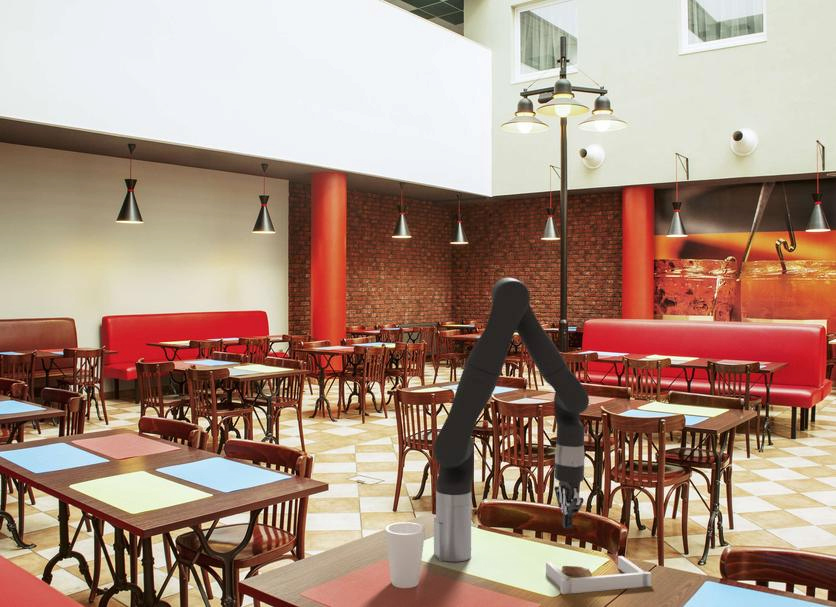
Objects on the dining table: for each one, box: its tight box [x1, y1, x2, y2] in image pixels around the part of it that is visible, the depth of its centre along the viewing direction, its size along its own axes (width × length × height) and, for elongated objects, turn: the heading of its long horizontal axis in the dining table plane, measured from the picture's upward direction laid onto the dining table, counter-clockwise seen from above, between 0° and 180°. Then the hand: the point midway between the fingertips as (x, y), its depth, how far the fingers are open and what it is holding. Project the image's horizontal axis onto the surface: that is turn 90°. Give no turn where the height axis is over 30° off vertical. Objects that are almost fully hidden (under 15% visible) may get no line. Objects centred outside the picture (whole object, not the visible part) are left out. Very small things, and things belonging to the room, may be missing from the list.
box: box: [545, 555, 652, 595], centre depth 178 cm, size 22×12×3 cm, turn 103°
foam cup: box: [384, 521, 426, 589], centre depth 176 cm, size 10×9×13 cm
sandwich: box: [561, 565, 593, 578], centre depth 178 cm, size 11×8×2 cm
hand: (567, 527), depth 193 cm, fingers closed
